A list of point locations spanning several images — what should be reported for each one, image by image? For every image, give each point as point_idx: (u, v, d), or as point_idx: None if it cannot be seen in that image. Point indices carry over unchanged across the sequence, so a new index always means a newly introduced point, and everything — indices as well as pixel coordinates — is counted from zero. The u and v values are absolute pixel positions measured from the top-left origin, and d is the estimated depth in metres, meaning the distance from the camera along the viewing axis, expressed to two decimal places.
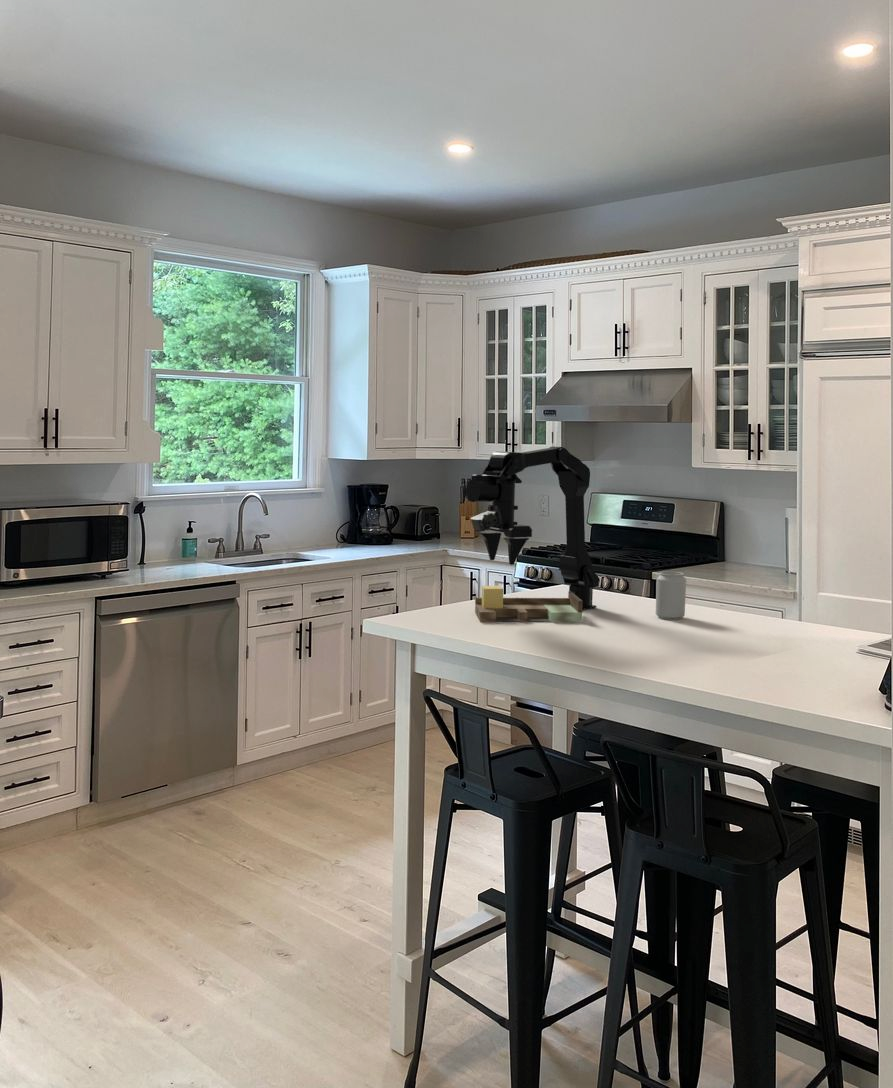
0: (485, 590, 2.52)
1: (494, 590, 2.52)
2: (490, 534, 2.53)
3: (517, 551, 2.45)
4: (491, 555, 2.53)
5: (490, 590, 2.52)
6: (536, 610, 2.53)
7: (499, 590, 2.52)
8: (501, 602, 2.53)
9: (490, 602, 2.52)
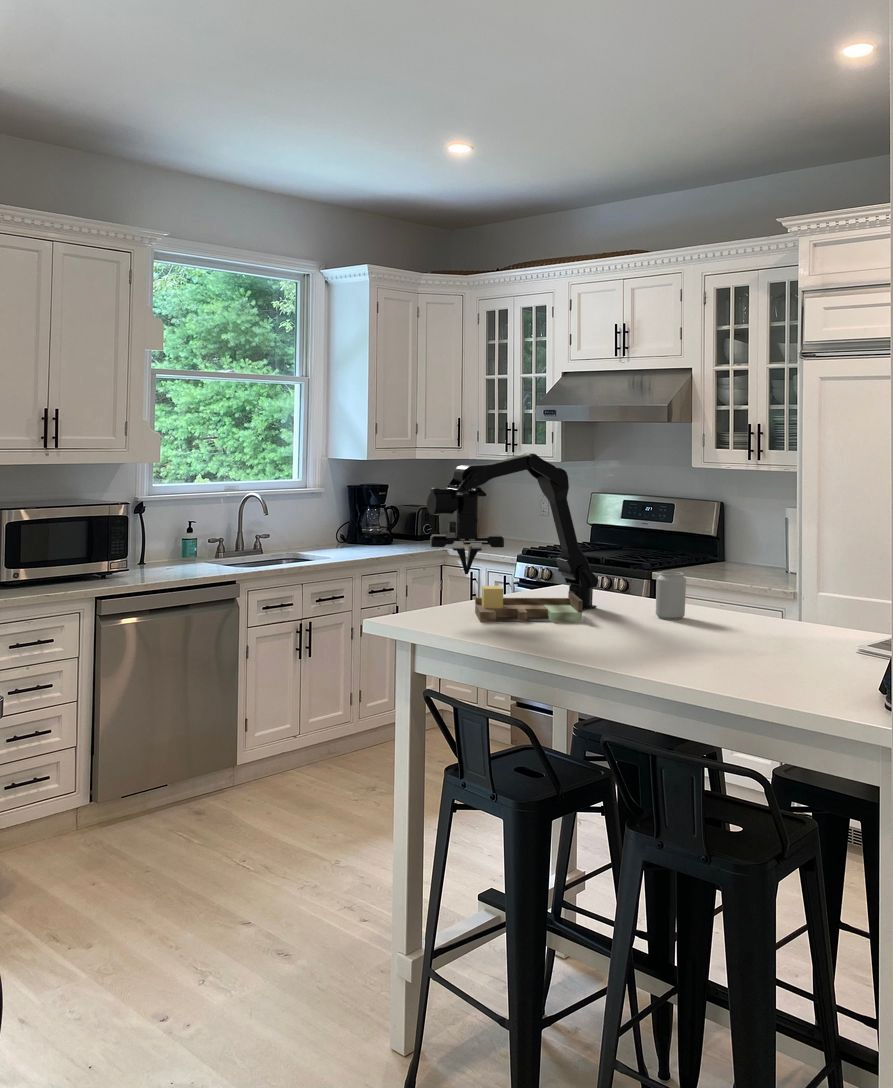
0: (485, 590, 2.52)
1: (494, 590, 2.52)
2: (469, 548, 2.53)
3: (461, 561, 2.52)
4: None
5: (490, 590, 2.52)
6: (536, 610, 2.53)
7: (499, 590, 2.52)
8: (501, 602, 2.53)
9: (490, 602, 2.52)
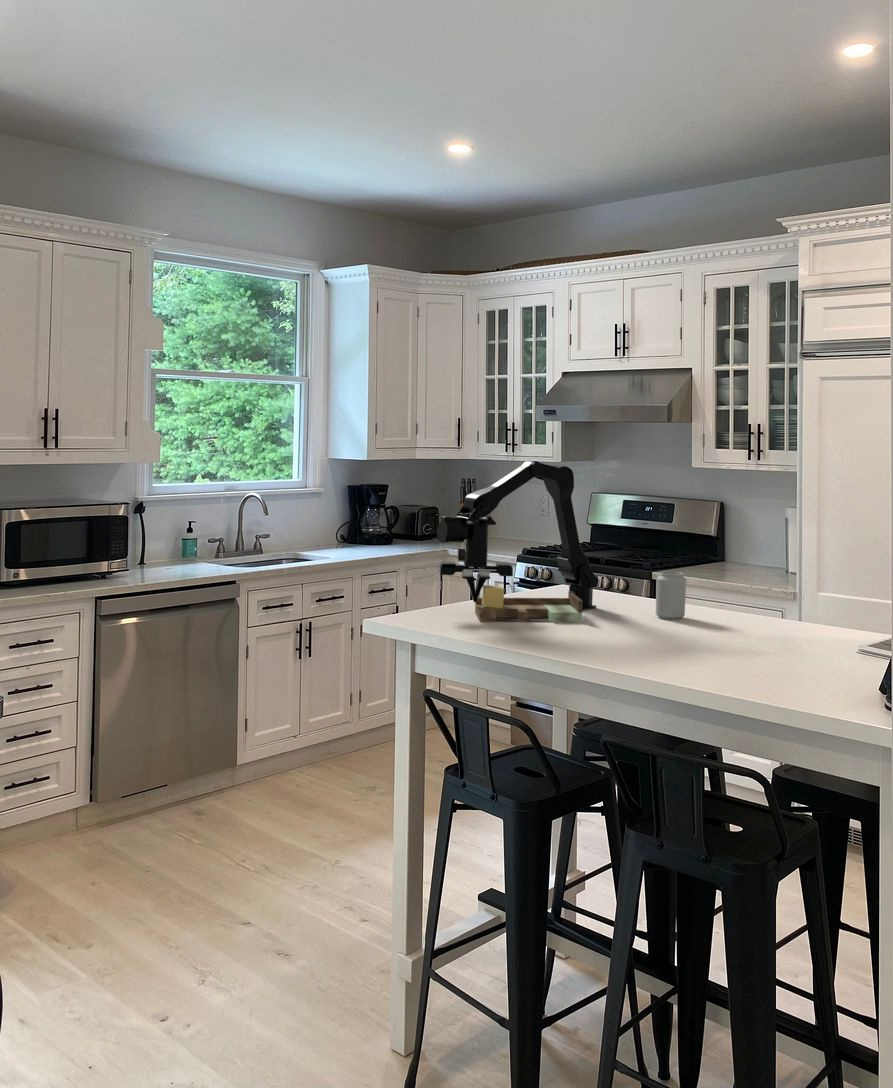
0: (486, 589, 2.52)
1: (495, 590, 2.52)
2: (477, 576, 2.54)
3: (470, 589, 2.53)
4: None
5: (491, 589, 2.52)
6: (536, 610, 2.53)
7: (500, 590, 2.52)
8: (501, 602, 2.53)
9: (490, 602, 2.52)
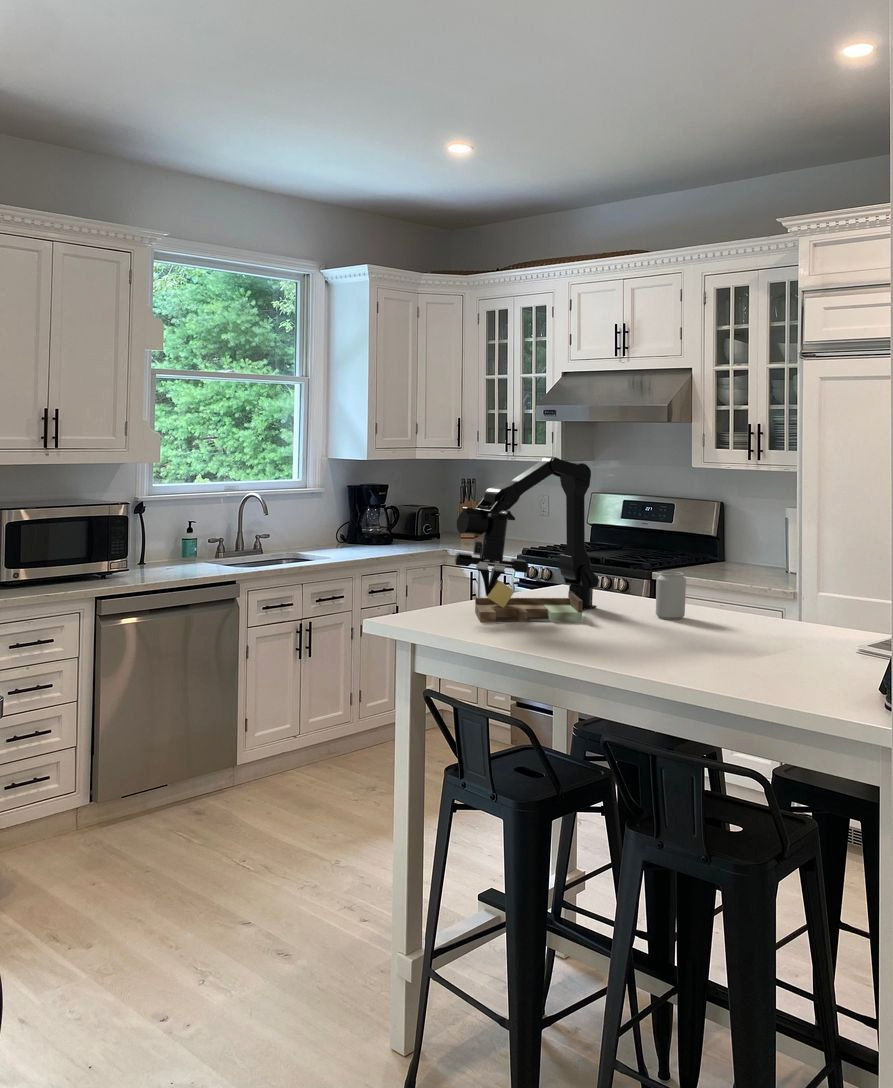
0: (498, 583, 2.52)
1: (506, 588, 2.52)
2: (492, 570, 2.54)
3: (484, 582, 2.53)
4: None
5: (502, 586, 2.52)
6: (536, 610, 2.53)
7: (510, 591, 2.52)
8: (505, 602, 2.53)
9: (496, 597, 2.52)
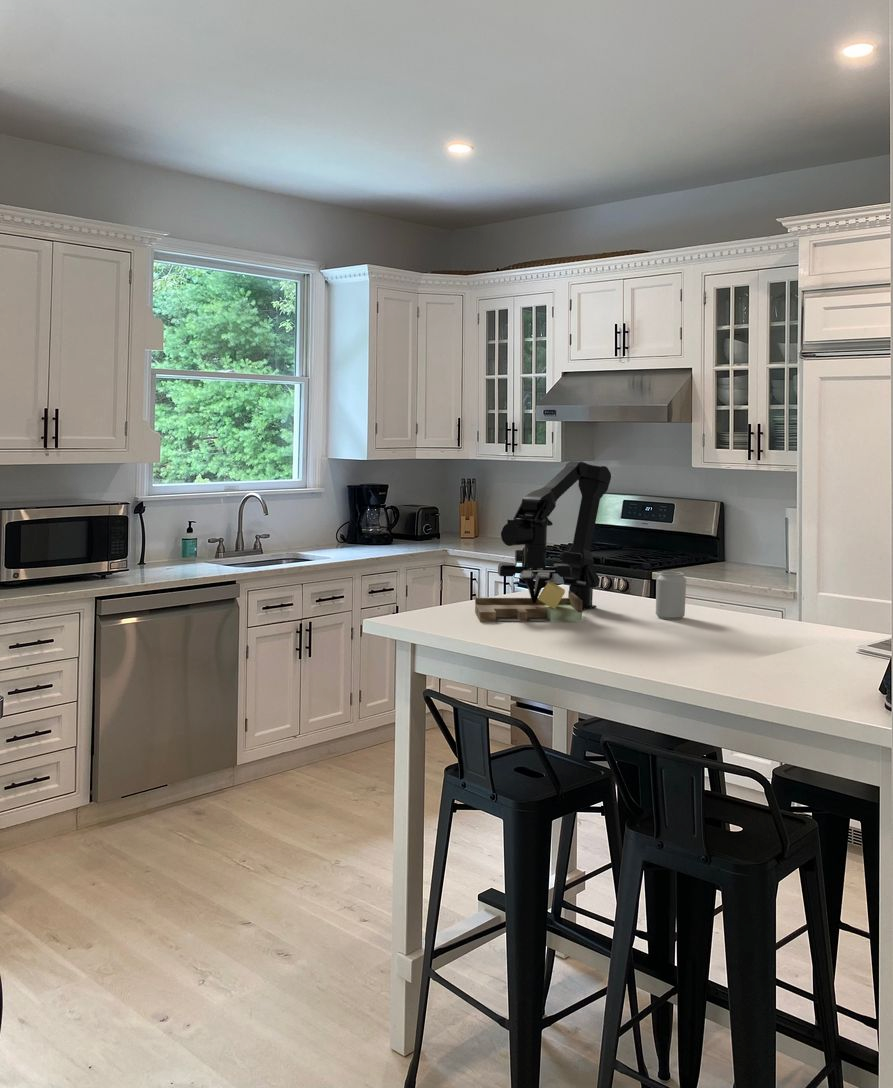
0: (548, 585, 2.52)
1: (556, 589, 2.52)
2: (536, 577, 2.56)
3: (529, 590, 2.54)
4: None
5: (552, 587, 2.52)
6: (536, 610, 2.53)
7: (560, 592, 2.52)
8: (556, 603, 2.52)
9: (546, 598, 2.52)
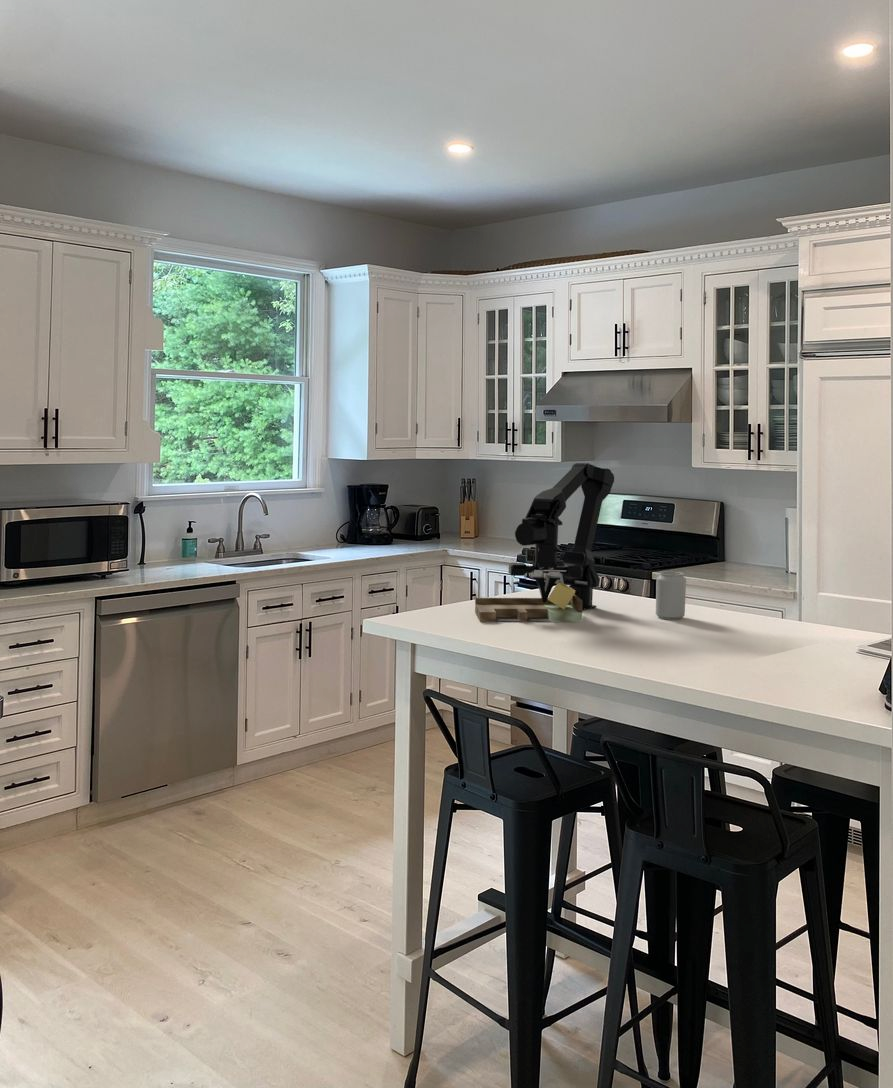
0: (558, 585, 2.51)
1: (566, 590, 2.51)
2: (547, 577, 2.56)
3: (540, 590, 2.54)
4: None
5: (562, 588, 2.51)
6: (536, 610, 2.53)
7: (570, 592, 2.51)
8: (565, 604, 2.51)
9: (556, 598, 2.52)
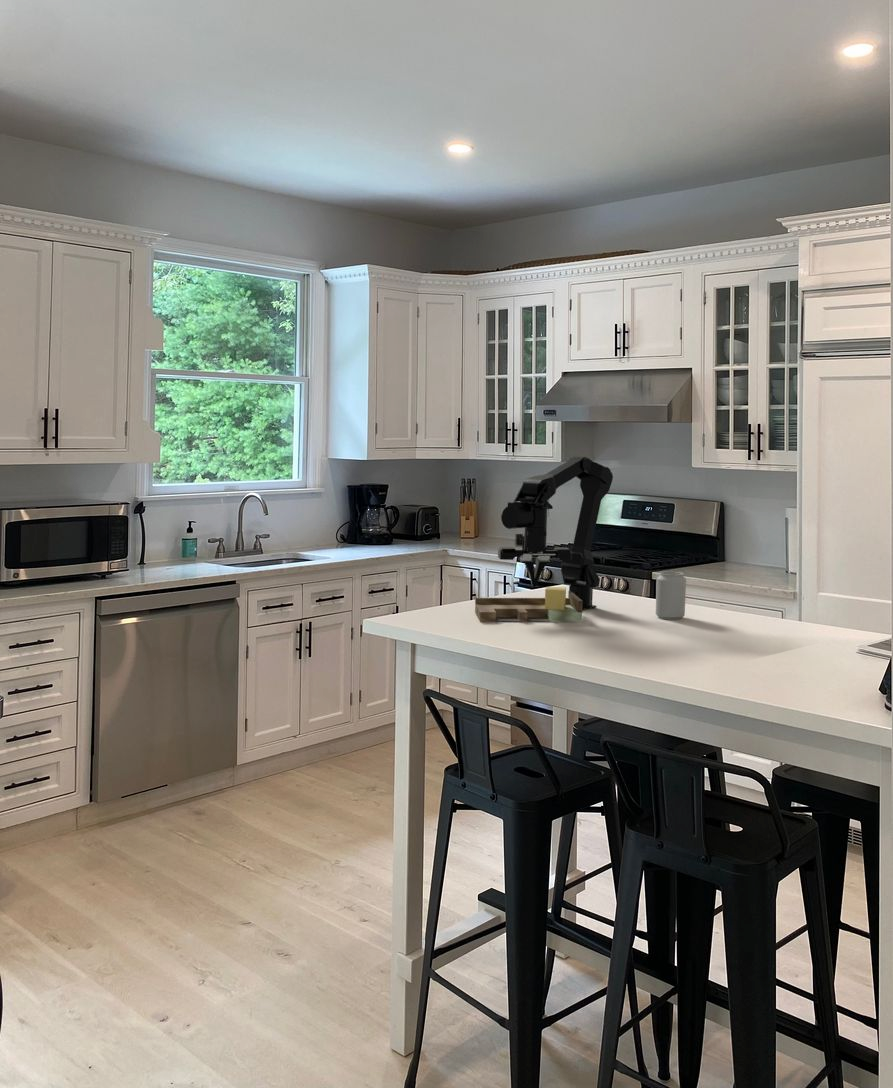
0: (546, 591, 2.52)
1: (555, 591, 2.52)
2: (537, 560, 2.55)
3: (529, 574, 2.54)
4: None
5: (551, 591, 2.52)
6: (536, 610, 2.53)
7: (560, 592, 2.51)
8: (562, 604, 2.52)
9: (551, 603, 2.52)
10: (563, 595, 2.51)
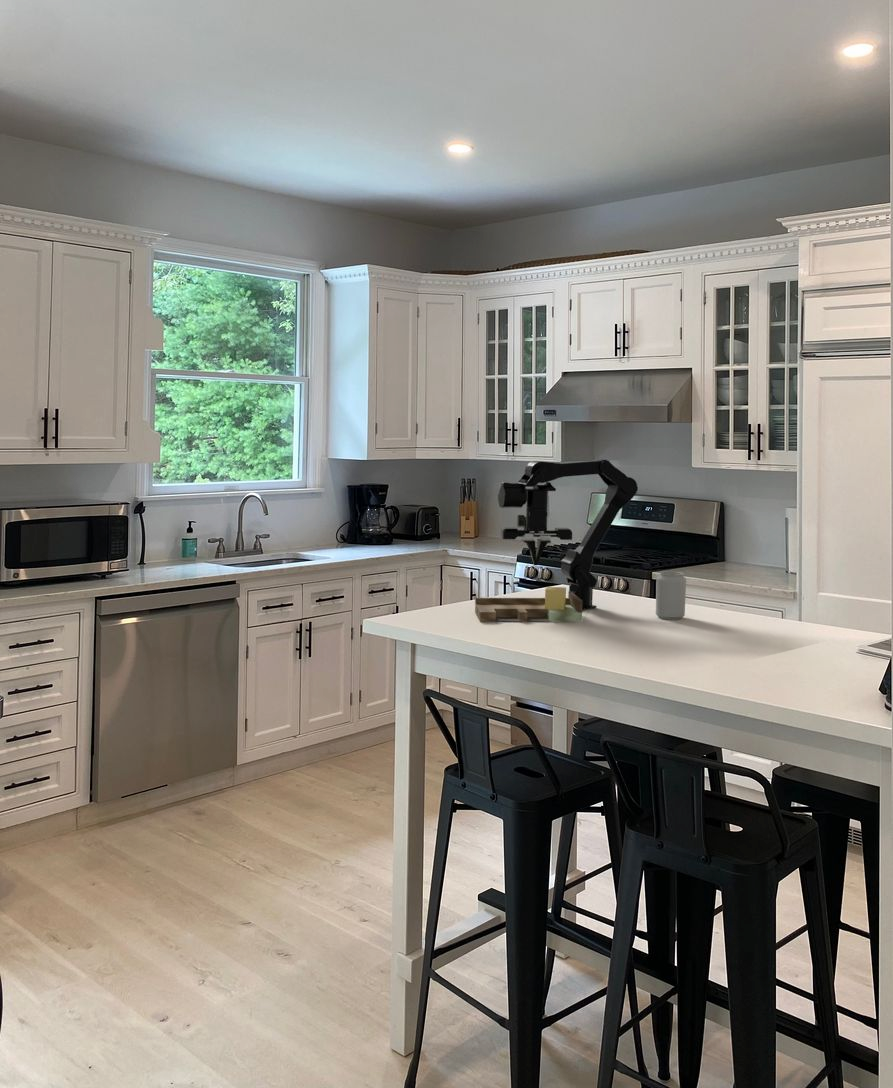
0: (546, 591, 2.52)
1: (555, 591, 2.52)
2: (538, 540, 2.65)
3: (531, 553, 2.64)
4: None
5: (551, 591, 2.52)
6: (536, 610, 2.53)
7: (560, 592, 2.51)
8: (562, 604, 2.52)
9: (551, 603, 2.52)
10: (563, 595, 2.51)
